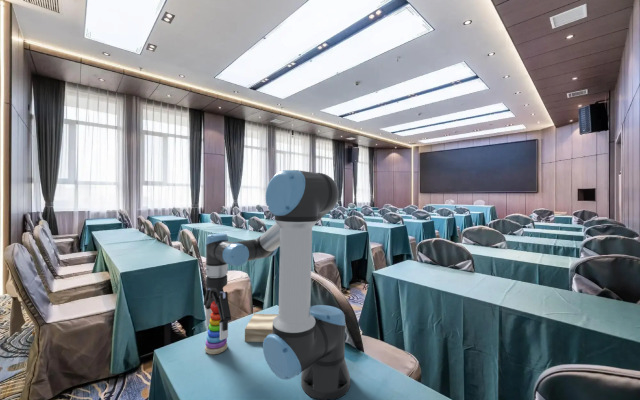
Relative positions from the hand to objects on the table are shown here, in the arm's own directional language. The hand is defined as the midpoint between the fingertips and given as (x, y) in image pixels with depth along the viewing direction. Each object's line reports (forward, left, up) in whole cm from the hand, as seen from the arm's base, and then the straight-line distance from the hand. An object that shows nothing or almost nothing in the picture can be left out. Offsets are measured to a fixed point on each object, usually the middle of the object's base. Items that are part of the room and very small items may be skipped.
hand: (216, 331), depth 103 cm
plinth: (+13, -16, -7) cm, 22 cm away
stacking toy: (0, 0, -7) cm, 7 cm away
